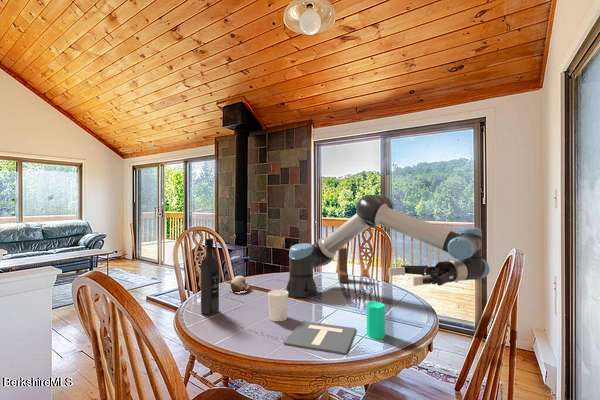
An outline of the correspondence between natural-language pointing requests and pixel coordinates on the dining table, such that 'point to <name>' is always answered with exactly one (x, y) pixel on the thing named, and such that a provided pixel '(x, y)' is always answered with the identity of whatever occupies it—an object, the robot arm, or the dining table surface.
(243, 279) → the skull
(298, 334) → the letter pad
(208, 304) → the black olive oil bottle
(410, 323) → the dining table surface
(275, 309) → the white cup
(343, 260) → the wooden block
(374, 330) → the candle
